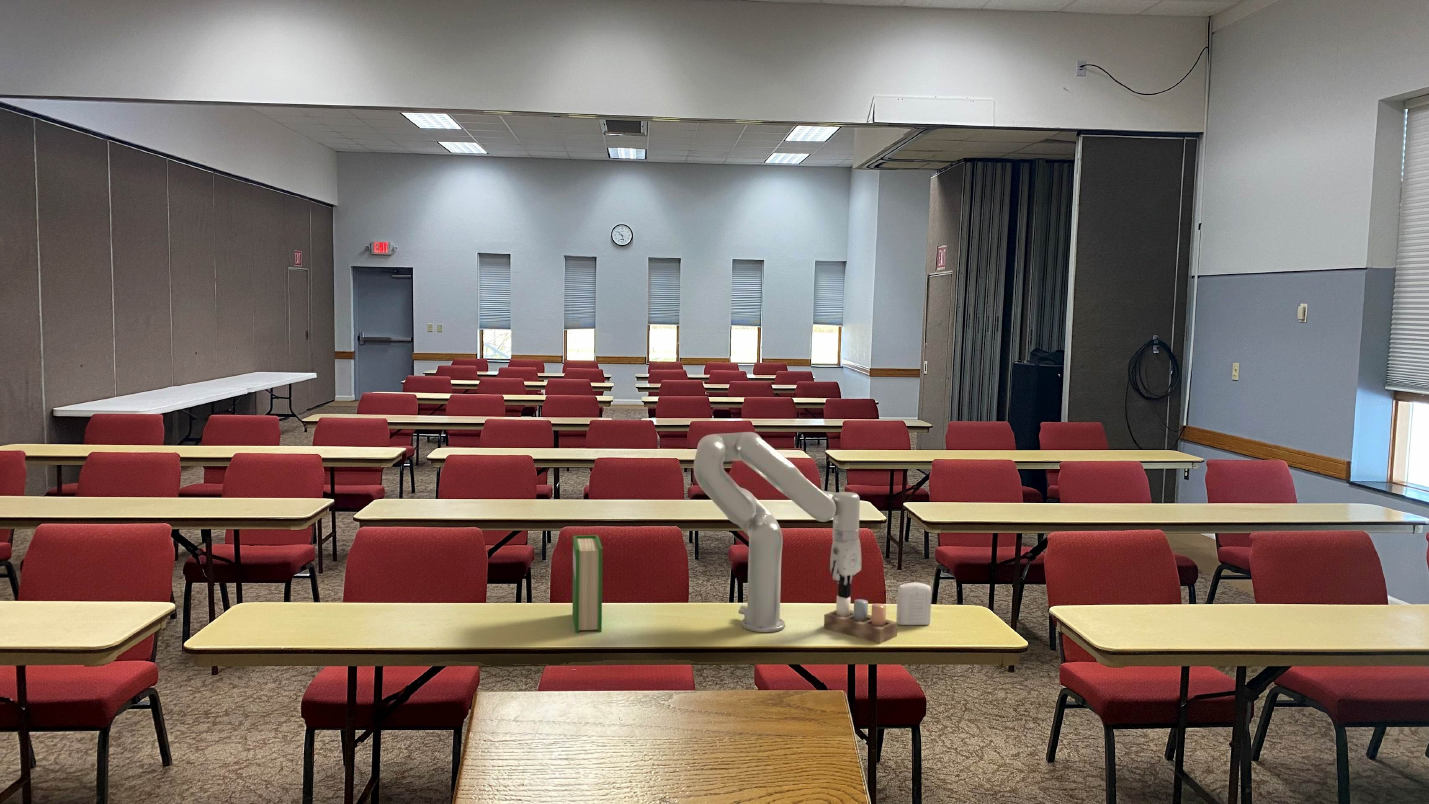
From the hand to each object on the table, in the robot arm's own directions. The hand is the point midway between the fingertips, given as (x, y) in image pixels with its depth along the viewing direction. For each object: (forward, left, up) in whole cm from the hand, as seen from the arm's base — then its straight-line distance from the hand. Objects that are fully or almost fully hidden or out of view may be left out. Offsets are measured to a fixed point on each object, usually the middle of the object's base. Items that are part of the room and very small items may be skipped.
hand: (844, 596), depth 266 cm
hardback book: (-55, -51, -9) cm, 76 cm away
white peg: (0, 0, -7) cm, 7 cm away
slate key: (+6, 0, -7) cm, 9 cm away
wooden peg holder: (+6, 0, -9) cm, 11 cm away
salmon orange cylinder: (+12, 0, -7) cm, 14 cm away
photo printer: (+13, +18, -9) cm, 24 cm away
